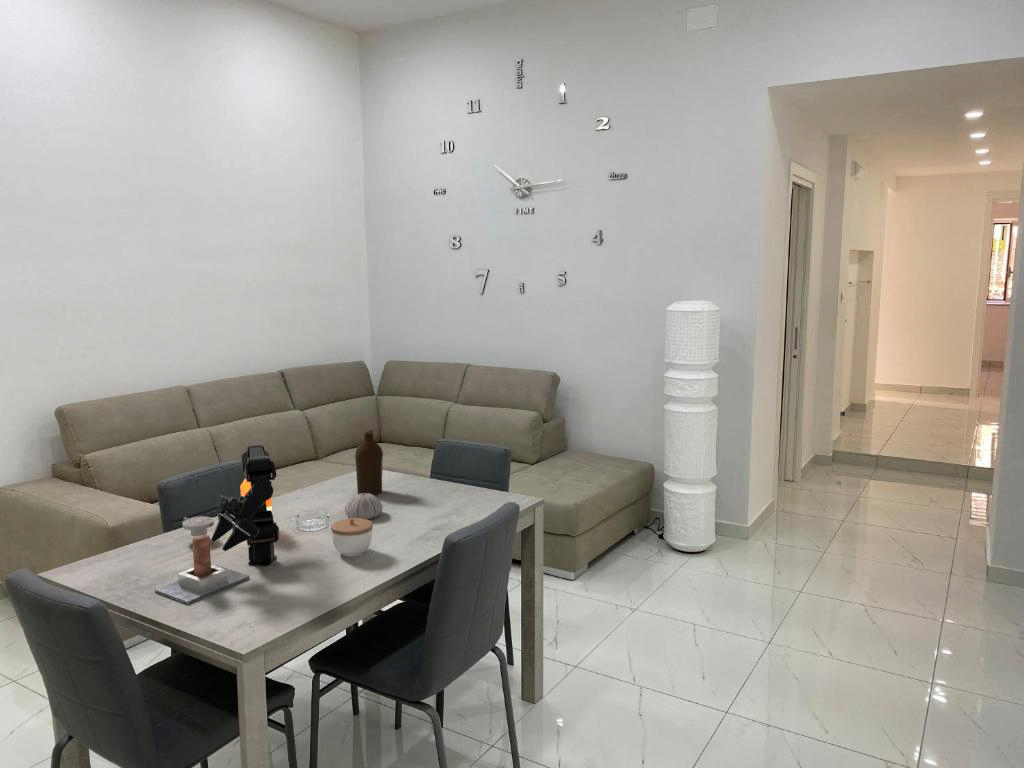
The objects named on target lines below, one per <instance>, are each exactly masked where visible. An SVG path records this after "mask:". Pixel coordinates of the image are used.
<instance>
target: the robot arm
mask: <svg viewBox="0 0 1024 768" xmlns="http://www.w3.org/2000/svg"><path fill="white" fill-rule="evenodd" d="M240 461H241V472H243V473H244V474H243V475H244V480H245V479H246V480H247V482H250V484H251V488H250V489H249V491H248V492H247V493H246V495H245V496H244V497H243V496H242V495H241V494H240V495H239V497H233V496H227V495H221V494H219V496H218V498H217V500H216V503H215V507H218V508H217V509H216V511H217V514H216V515H217V520H218V522H217V525H216V527H215V530H214V532H213V533H212V534H213V535H212V537H211V538H210V541H212V542H213V543H214V542H216V541H218V540H219V539H221V538H222V537H223V536H224V535H226V534H227V533H229V532H230V531H231V530H232V532H231V534H230V535H229V537H228V538H227V540H226V541H225V543H224V545H223V546H222V551H224V552H227V551H229V550H230V549H232V548H235V546H238V545H240V544H241V543H243V542H246V543H247V546H248V549H247V550H248V563H247V565H249V566H252V565H253V566H271V564H272V563H273V562H274V561H275V560H276V559H277V557H278V556H277V555H275V543H277V542H278V541H280V540H279V539H280V537H279V536H280V529H279V528H280V527H279V526H278V525H277V522H274V521H275V520H274V515H273V511H272V512H271V510H268V511H267V506H266V501H267V500H269V499H270V498H271V499H272V497H273V494H274V487H273V485H272V483H273V481H274V480H275V479H276V478H277V469H276V468H277V467H276V464H275V463H274V461H273V460H271V457H270V453H269V452H268V451H267V450H265V446H264V445H262V444H259V445H258V444H257V445H249V446H247V447H246V451H245V452H244V453H243V454H241V459H240Z"/></svg>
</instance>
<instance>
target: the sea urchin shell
mask: <svg viewBox="0 0 1024 768" xmlns="http://www.w3.org/2000/svg"><path fill="white" fill-rule="evenodd" d="M344 512H345V515H346V516H347V517H348V518H362V519H367V520H371V519H374V518H377V517H379V516H380V515H381V514H382V512H383V504H382V502H381V500H380V499H379V498H378V497H377V495H372V494H369V493H361V494H358V493H357V494H356V495H353V496H352V497H351V498H349V500H347V502H346V504H345V507H344Z"/></svg>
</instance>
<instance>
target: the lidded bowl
mask: <svg viewBox="0 0 1024 768" xmlns="http://www.w3.org/2000/svg"><path fill="white" fill-rule="evenodd" d="M373 525H374V524H373V522H372V520H371V519H362V518H350V517H348V518H344V519H338V520H337V521H334V522H333V523H332V524H331V525H330V530H331V538H332V539H331V540H332V544H333V545H334V548H335V549H336V550H337V552H339V553H340V555H341V556H342V557H346V558H354V557H355V556H356V557H360V556H363V555H364V554H365V552H366V551H367V550H368V549H369V547H370V545H371V544H372V543H371V542H372V539H373V527H374V526H373ZM363 553H364V554H363ZM356 557H355V558H356Z"/></svg>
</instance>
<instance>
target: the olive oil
mask: <svg viewBox="0 0 1024 768" xmlns="http://www.w3.org/2000/svg"><path fill="white" fill-rule="evenodd" d="M373 432H374V430H373V429H372V428H371V429H370V428H367V429H365V430H364V435H363V436H364V440H362V442H360V444H359V445H357V448H356V450H355V453H354V458H355V459H354V460H355V470H356V471H355V472H356V488H357V495H358V494H361V493H369V494H372V495H374V496H378V495H381V493H383V467H384V466H383V462H384V452H383V449H382V447H381V446H380V445H379V443H377V441H375V440H374V433H373Z"/></svg>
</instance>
